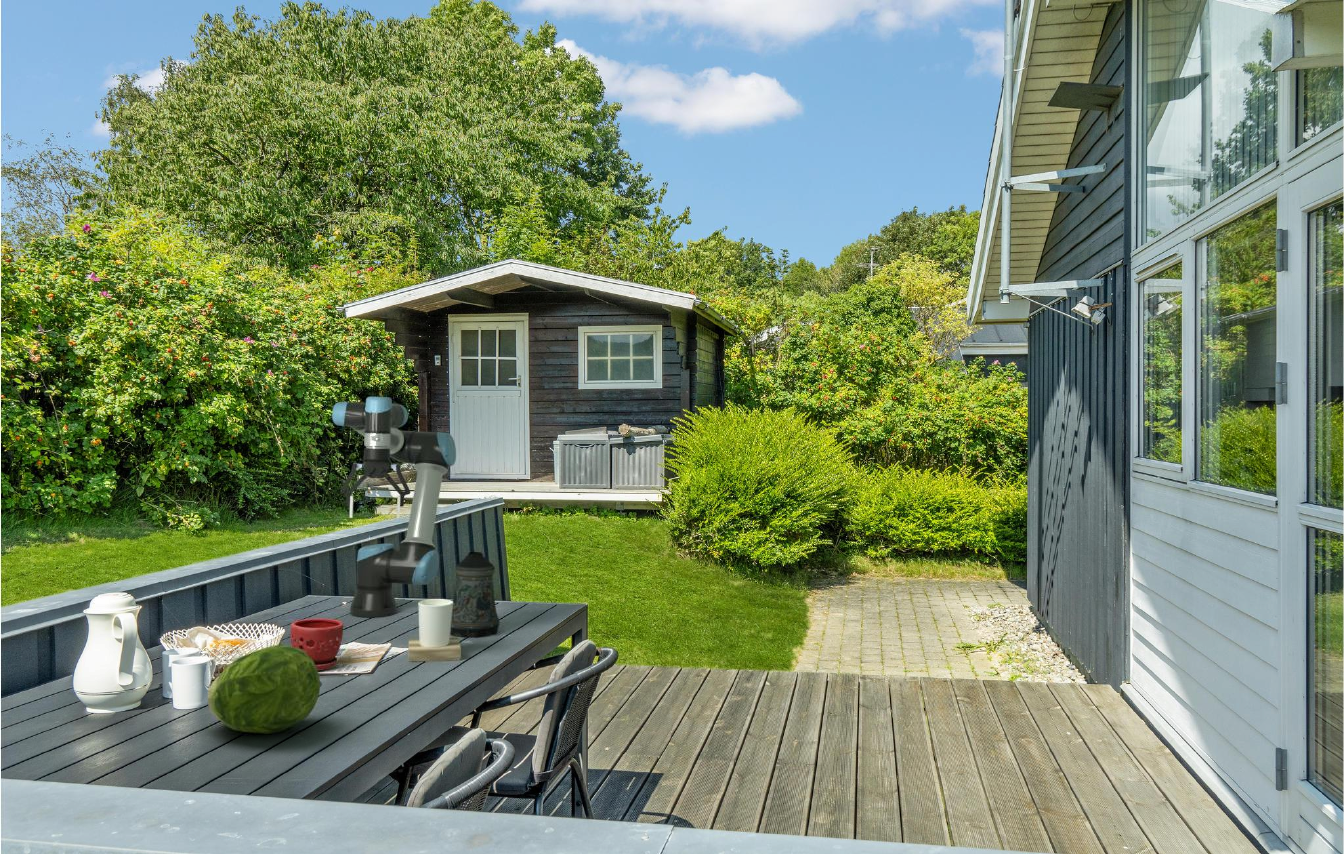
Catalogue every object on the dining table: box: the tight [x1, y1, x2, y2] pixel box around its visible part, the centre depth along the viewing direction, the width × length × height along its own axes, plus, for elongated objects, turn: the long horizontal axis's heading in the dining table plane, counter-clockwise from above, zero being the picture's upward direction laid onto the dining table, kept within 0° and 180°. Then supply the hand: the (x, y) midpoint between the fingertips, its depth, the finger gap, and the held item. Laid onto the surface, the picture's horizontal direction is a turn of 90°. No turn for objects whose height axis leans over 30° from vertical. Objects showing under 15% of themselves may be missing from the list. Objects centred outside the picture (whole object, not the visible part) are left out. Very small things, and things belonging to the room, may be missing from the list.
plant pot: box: [290, 618, 344, 672], centre depth 244 cm, size 13×13×12 cm
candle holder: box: [417, 598, 453, 648], centre depth 261 cm, size 10×10×12 cm
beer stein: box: [450, 551, 501, 639], centre depth 290 cm, size 16×19×25 cm
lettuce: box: [207, 644, 321, 735], centre depth 196 cm, size 19×23×18 cm
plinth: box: [407, 636, 462, 663], centre depth 261 cm, size 14×14×3 cm
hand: (374, 517), depth 276 cm, fingers open, 13 cm apart
